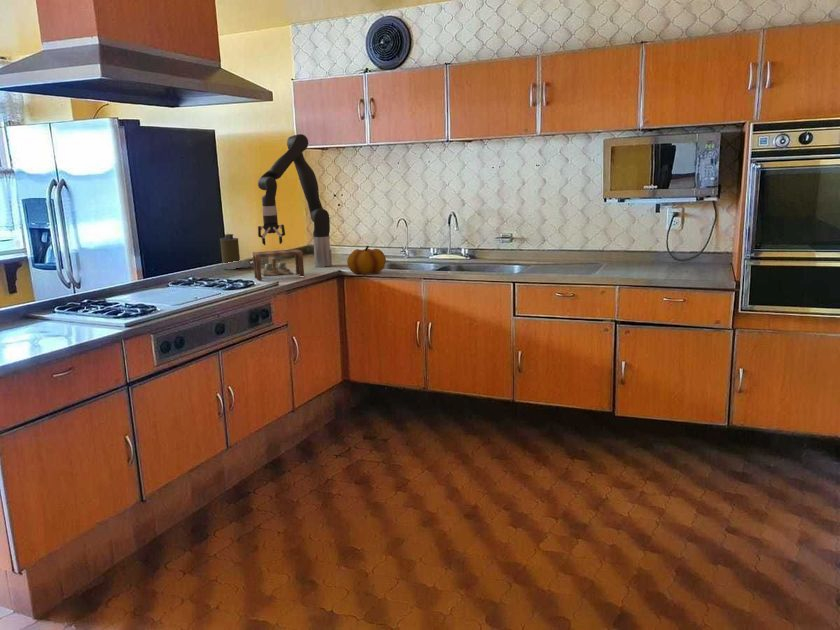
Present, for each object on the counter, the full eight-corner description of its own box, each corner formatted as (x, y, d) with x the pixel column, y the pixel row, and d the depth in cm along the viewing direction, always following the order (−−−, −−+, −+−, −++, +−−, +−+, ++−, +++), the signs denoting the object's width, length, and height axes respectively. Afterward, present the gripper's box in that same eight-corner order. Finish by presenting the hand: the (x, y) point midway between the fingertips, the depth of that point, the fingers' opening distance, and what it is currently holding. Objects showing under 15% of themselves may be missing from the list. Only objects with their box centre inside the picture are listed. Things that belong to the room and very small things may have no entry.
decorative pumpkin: (387, 269, 364) (386, 242, 361) (384, 276, 342) (383, 247, 339) (350, 270, 364) (349, 243, 361) (345, 277, 343) (344, 248, 340)
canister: (244, 267, 389) (241, 233, 385) (234, 270, 379) (231, 235, 375) (228, 267, 393) (225, 233, 388) (218, 269, 383) (214, 235, 379)
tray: (283, 268, 379) (281, 254, 378) (289, 274, 358) (288, 259, 356) (258, 270, 374) (257, 256, 373) (263, 276, 353) (262, 261, 352)
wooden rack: (299, 273, 358) (298, 249, 355) (304, 276, 347) (302, 251, 344) (254, 277, 349) (252, 252, 347) (257, 280, 338) (255, 254, 336)
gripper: (282, 213, 363) (284, 242, 366) (255, 214, 358) (258, 244, 361) (284, 214, 356) (286, 244, 359) (257, 215, 351) (260, 246, 354)
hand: (272, 244), depth 360 cm, fingers open, 8 cm apart
